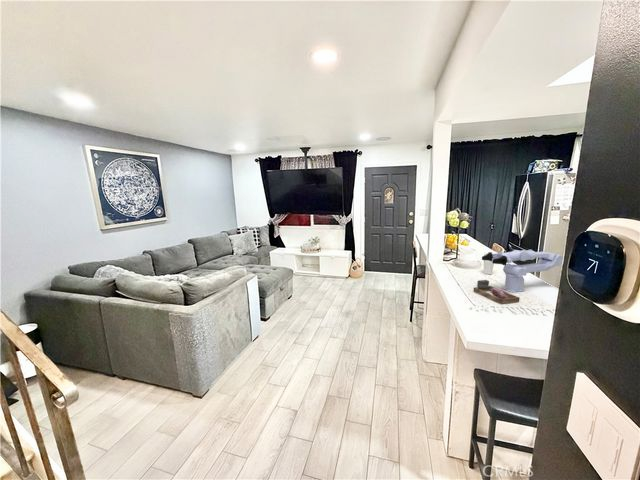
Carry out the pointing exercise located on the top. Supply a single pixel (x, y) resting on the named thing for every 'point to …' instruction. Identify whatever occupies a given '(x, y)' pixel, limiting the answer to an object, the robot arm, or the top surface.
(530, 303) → the top surface
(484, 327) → the top surface
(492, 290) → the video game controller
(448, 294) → the top surface
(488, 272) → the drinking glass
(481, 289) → the sliding frame
